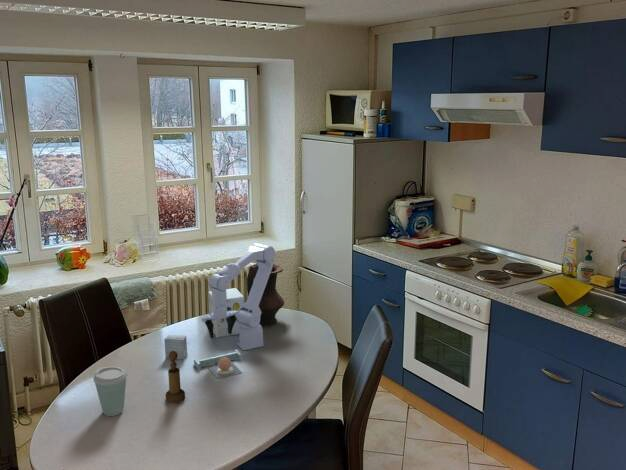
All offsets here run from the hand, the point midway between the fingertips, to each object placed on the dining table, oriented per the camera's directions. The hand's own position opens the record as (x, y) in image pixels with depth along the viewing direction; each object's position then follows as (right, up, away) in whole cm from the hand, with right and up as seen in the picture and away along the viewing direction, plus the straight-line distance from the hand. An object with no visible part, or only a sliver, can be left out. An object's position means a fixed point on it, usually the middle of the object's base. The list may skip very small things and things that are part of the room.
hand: (220, 335), depth 235 cm
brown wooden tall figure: (-11, -17, -30) cm, 37 cm away
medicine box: (-18, -9, +2) cm, 21 cm away
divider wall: (-1, -10, -3) cm, 11 cm away
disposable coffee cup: (-30, -19, -39) cm, 53 cm away
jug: (+14, -1, +38) cm, 40 cm away
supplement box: (-2, -3, +29) cm, 29 cm away
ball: (+3, -12, -9) cm, 15 cm away
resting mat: (+3, -12, -9) cm, 16 cm away
